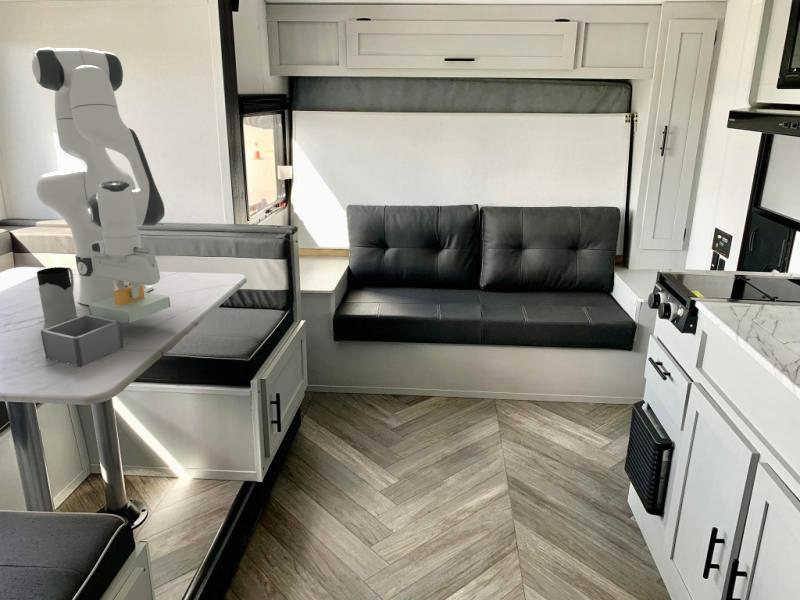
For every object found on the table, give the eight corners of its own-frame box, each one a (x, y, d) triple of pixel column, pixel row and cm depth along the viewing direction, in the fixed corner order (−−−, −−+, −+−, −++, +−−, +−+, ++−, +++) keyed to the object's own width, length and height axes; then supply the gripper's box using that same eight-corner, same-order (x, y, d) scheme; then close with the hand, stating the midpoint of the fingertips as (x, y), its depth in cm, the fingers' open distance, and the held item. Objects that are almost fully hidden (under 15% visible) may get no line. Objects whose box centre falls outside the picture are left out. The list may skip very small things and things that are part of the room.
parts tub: (90, 340, 160) (85, 314, 158) (123, 347, 156) (119, 321, 154) (45, 358, 149) (40, 330, 147) (80, 366, 145) (75, 338, 143)
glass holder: (37, 329, 167) (27, 275, 162) (62, 311, 181) (53, 261, 176) (70, 329, 168) (61, 275, 163) (93, 311, 181) (85, 261, 176)
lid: (133, 300, 175) (130, 278, 173) (170, 306, 170) (167, 283, 168) (90, 315, 163) (87, 292, 161) (128, 323, 157) (125, 298, 155)
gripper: (162, 247, 159) (168, 298, 164) (104, 239, 167) (111, 288, 172) (143, 252, 154) (150, 305, 158) (84, 244, 162) (92, 295, 166)
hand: (129, 296), depth 165 cm, fingers closed on lid
